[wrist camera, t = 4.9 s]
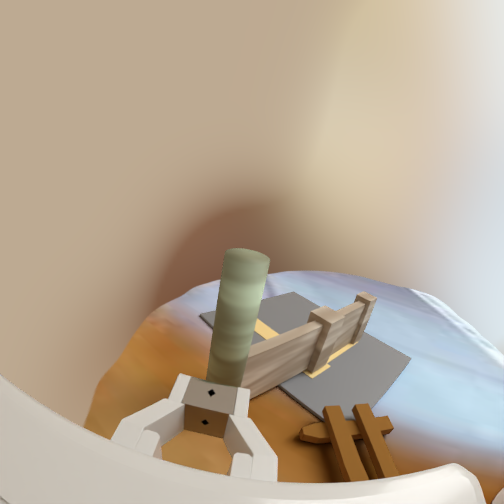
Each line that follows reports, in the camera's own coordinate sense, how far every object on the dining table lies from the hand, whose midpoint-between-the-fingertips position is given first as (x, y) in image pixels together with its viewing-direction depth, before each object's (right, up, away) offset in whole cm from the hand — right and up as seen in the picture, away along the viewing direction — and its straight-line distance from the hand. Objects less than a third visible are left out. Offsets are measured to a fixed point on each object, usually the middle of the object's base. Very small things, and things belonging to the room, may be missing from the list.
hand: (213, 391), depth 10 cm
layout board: (+10, -7, +27) cm, 30 cm away
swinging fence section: (+4, -8, +17) cm, 19 cm away
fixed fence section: (+14, -8, +27) cm, 31 cm away
